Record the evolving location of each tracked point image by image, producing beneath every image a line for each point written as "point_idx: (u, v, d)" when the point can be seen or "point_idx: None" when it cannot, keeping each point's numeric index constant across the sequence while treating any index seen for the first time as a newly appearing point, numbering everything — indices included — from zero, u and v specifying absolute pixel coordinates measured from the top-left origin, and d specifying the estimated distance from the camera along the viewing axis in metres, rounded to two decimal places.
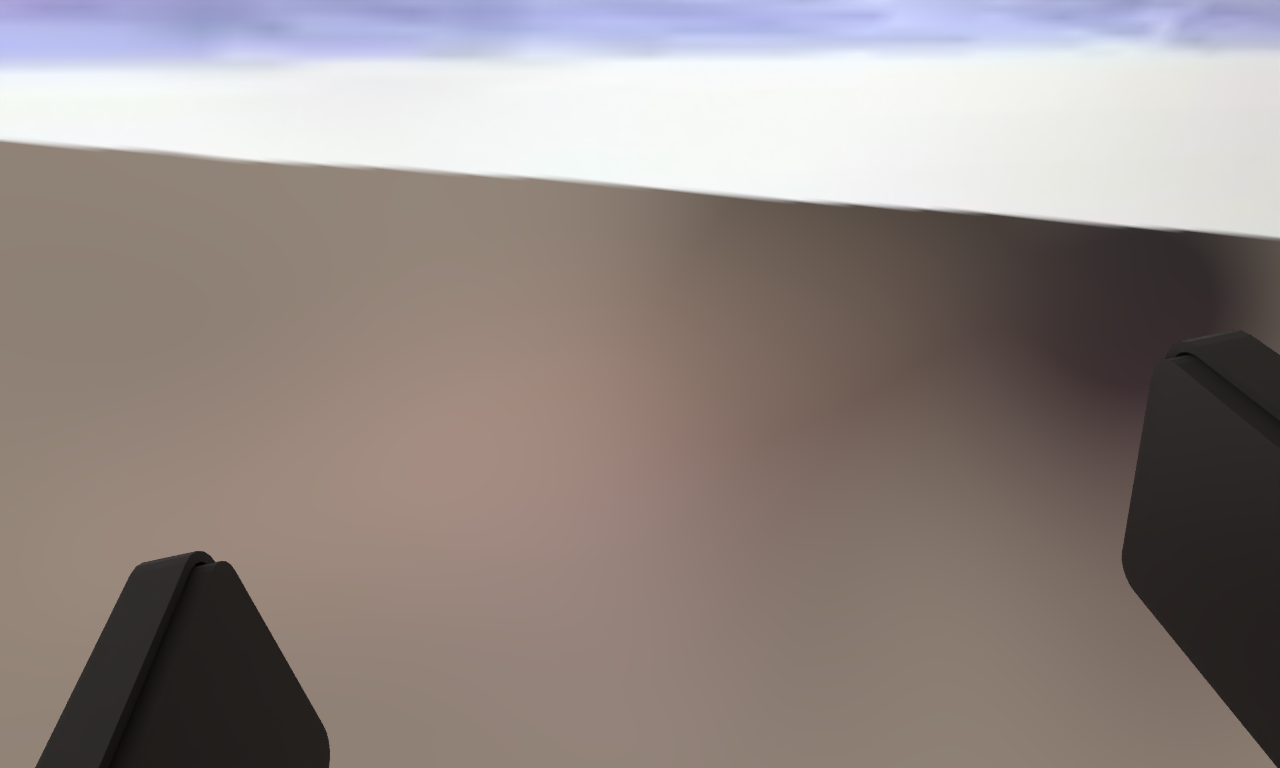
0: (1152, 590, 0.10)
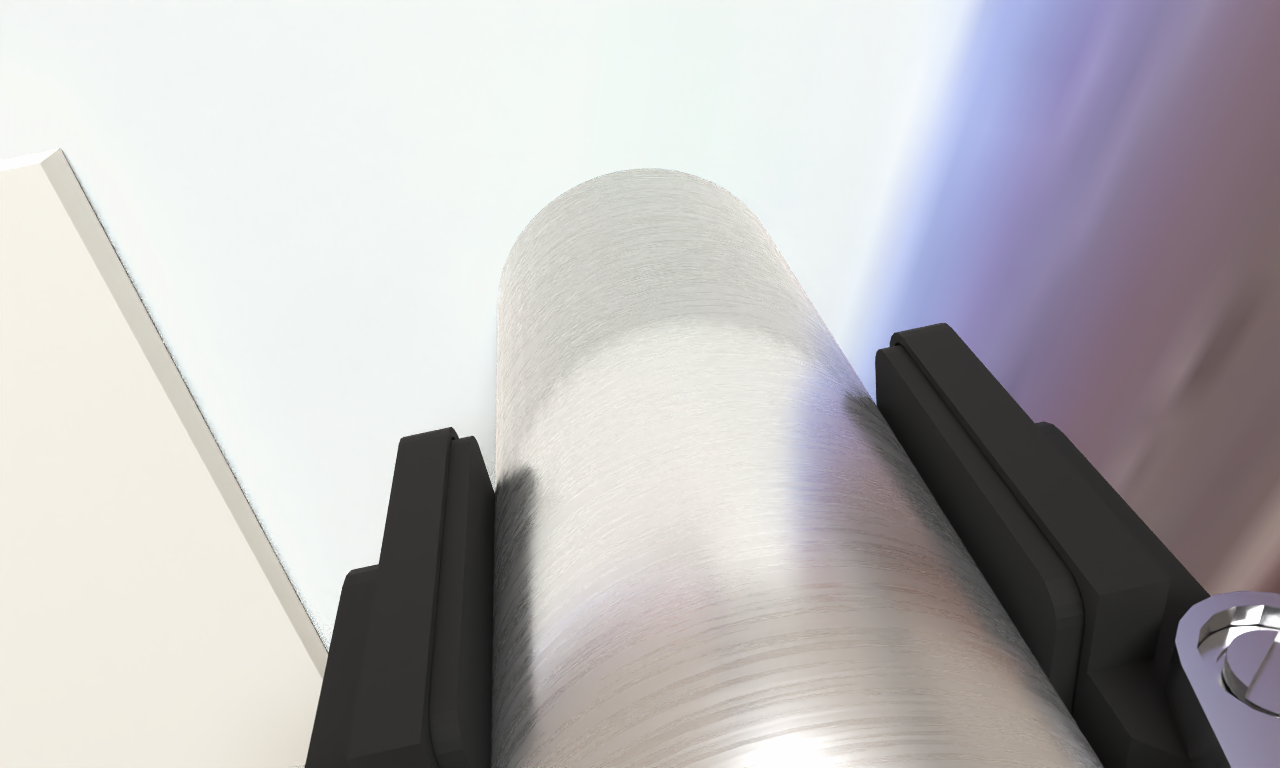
0: None
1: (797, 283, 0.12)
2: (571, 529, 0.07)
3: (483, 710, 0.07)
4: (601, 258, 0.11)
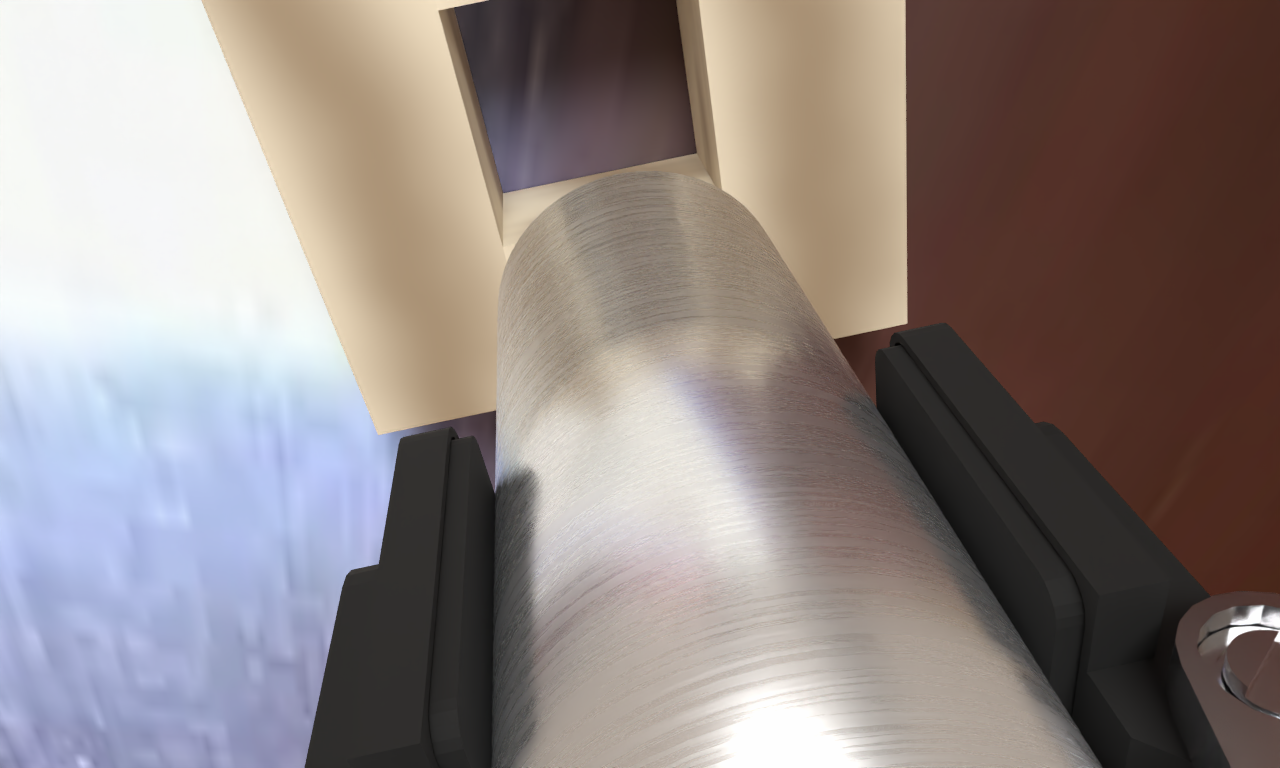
0: None
1: (798, 286, 0.11)
2: (571, 535, 0.07)
3: (484, 710, 0.07)
4: (601, 263, 0.11)
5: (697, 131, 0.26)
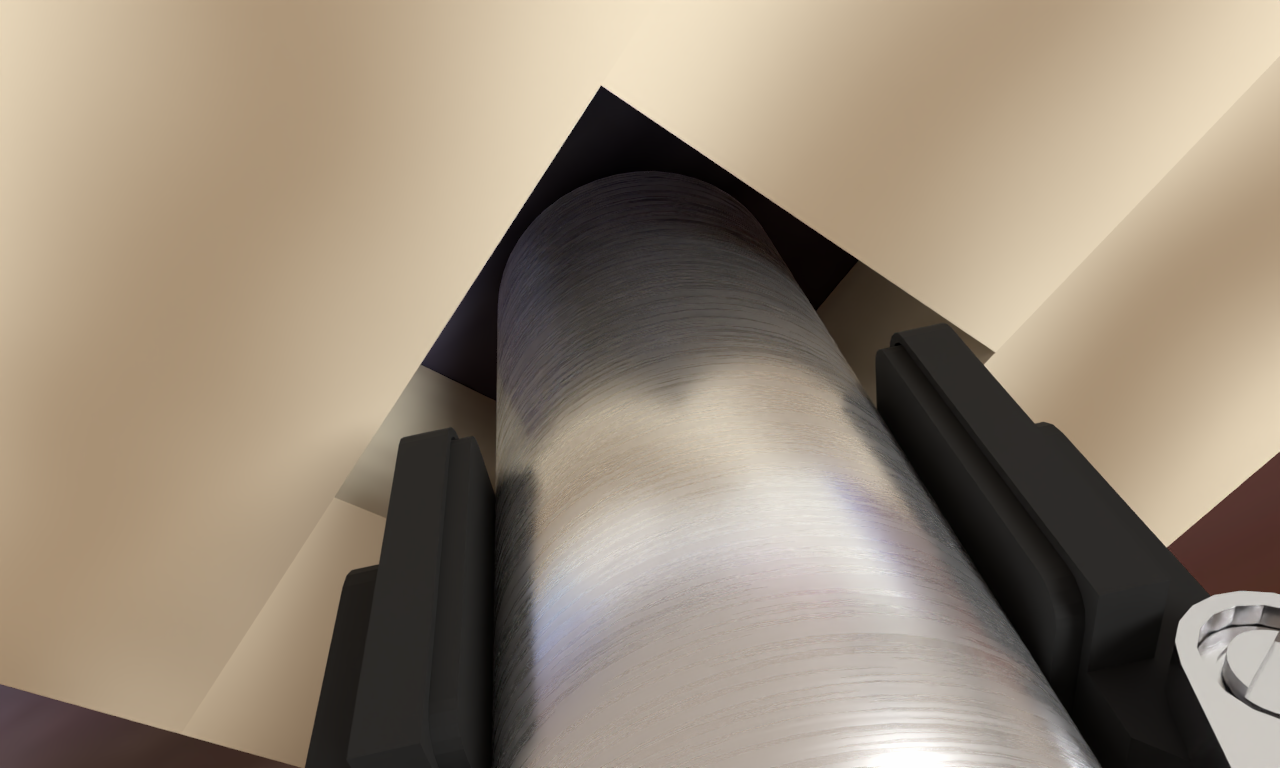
0: None
1: (797, 286, 0.12)
2: (572, 535, 0.07)
3: (483, 710, 0.07)
4: (601, 262, 0.11)
5: None
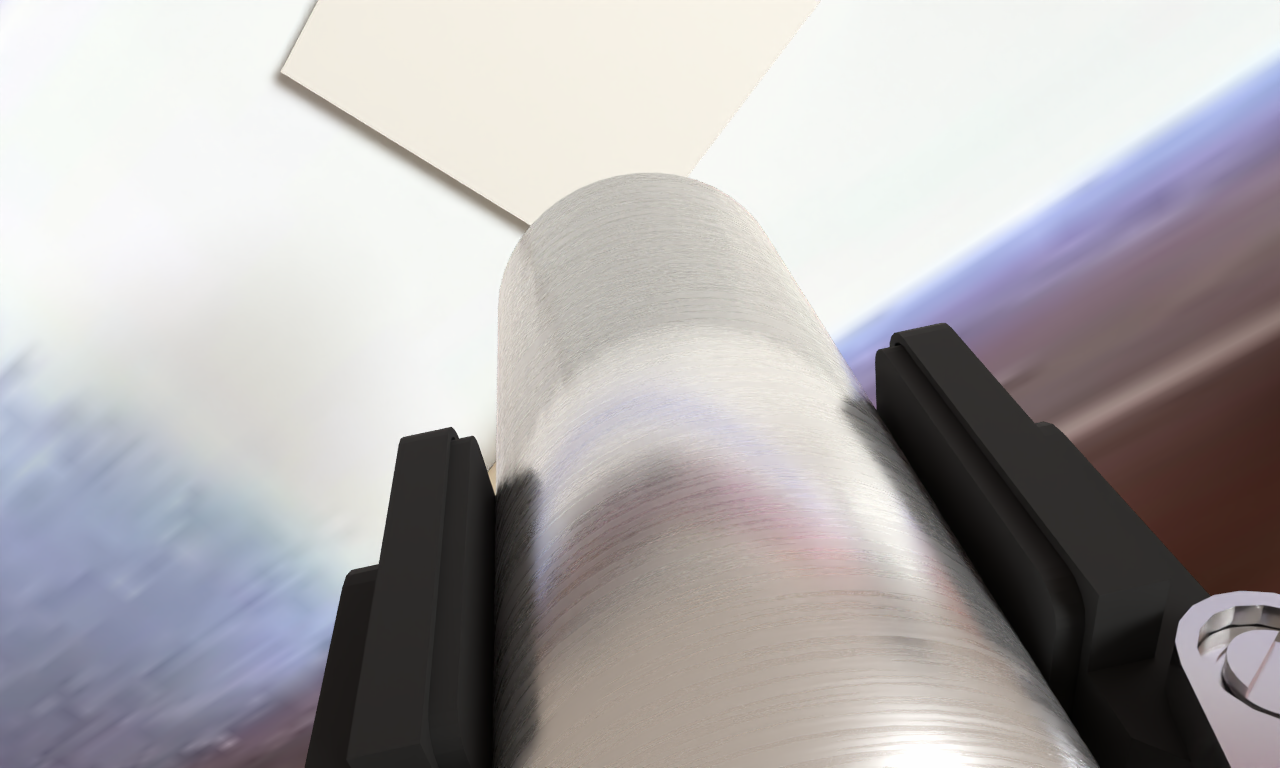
0: None
1: (797, 287, 0.12)
2: (572, 536, 0.07)
3: (483, 710, 0.07)
4: (601, 264, 0.11)
5: None
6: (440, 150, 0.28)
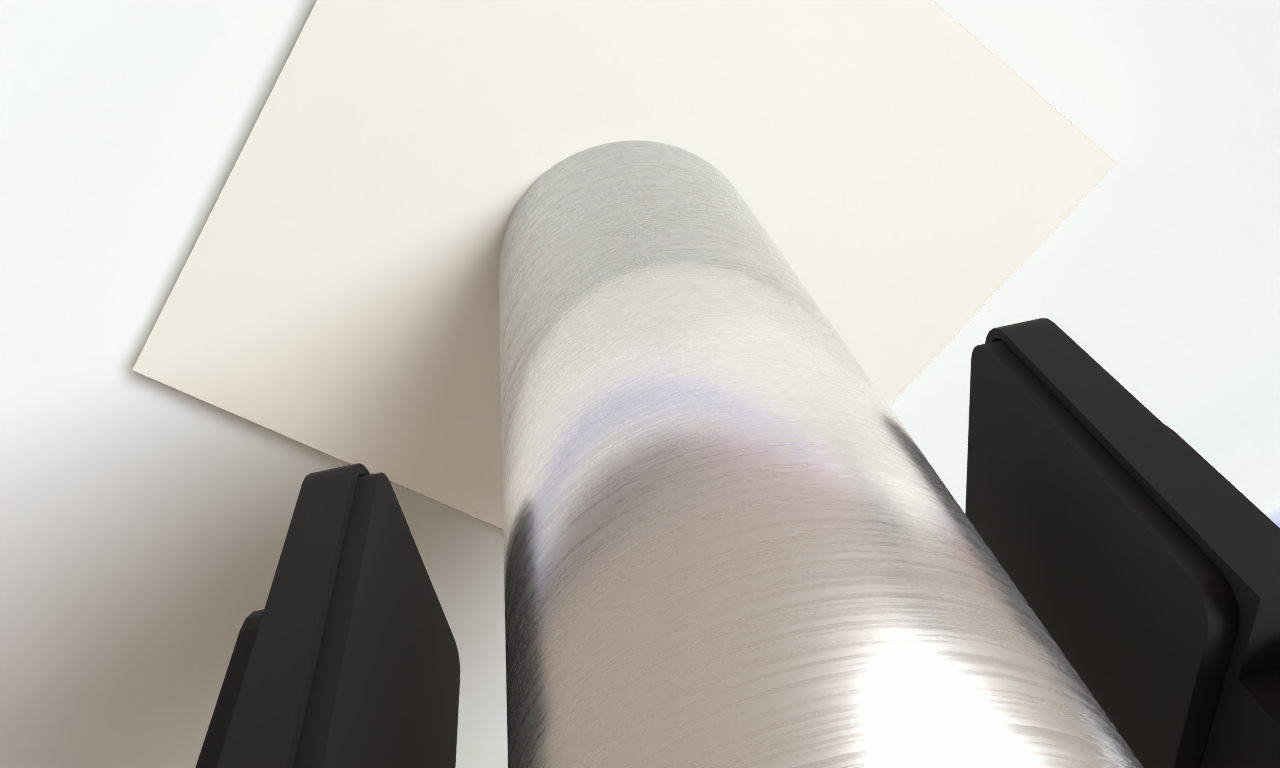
0: None
1: (770, 238, 0.13)
2: (574, 413, 0.08)
3: None
4: (594, 212, 0.12)
5: None
6: (417, 466, 0.17)
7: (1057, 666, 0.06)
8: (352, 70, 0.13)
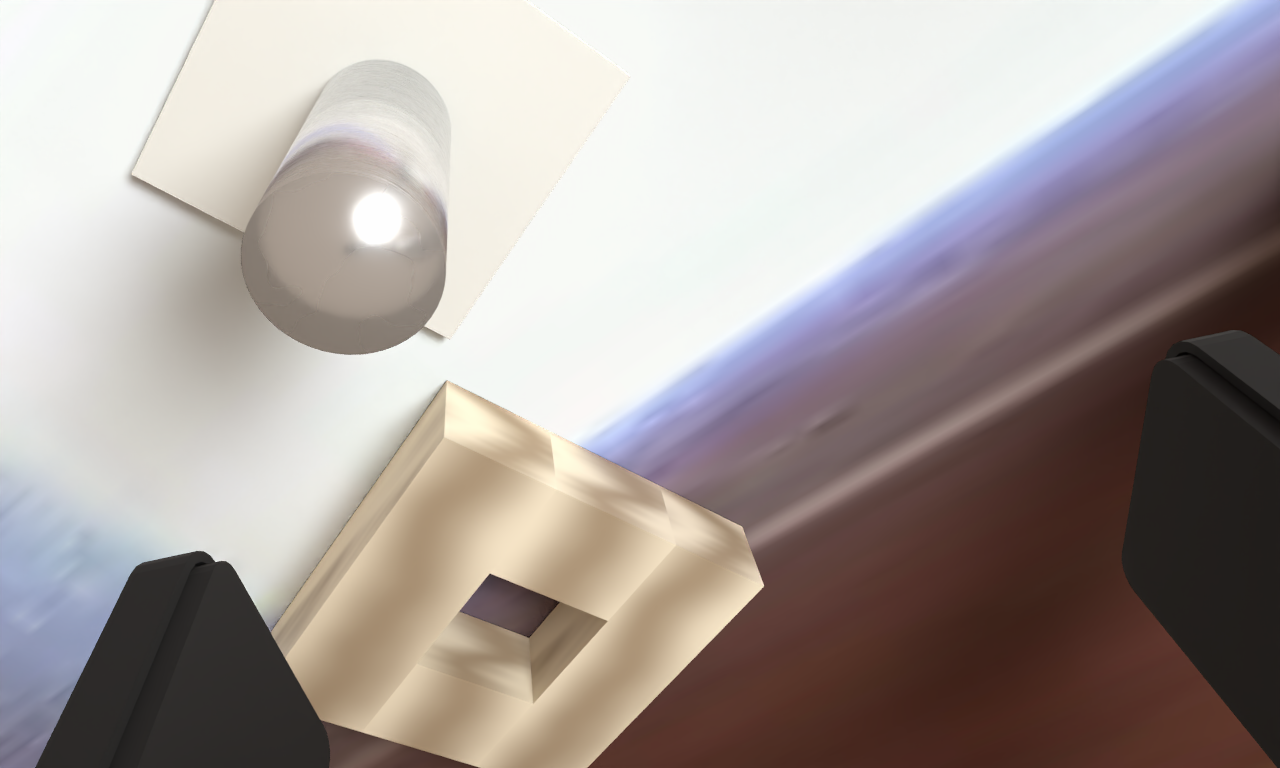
0: (1152, 590, 0.09)
1: (430, 101, 0.28)
2: (301, 134, 0.24)
3: None
4: (342, 82, 0.27)
5: (540, 638, 0.44)
6: None
7: (405, 170, 0.21)
8: (237, 22, 0.28)
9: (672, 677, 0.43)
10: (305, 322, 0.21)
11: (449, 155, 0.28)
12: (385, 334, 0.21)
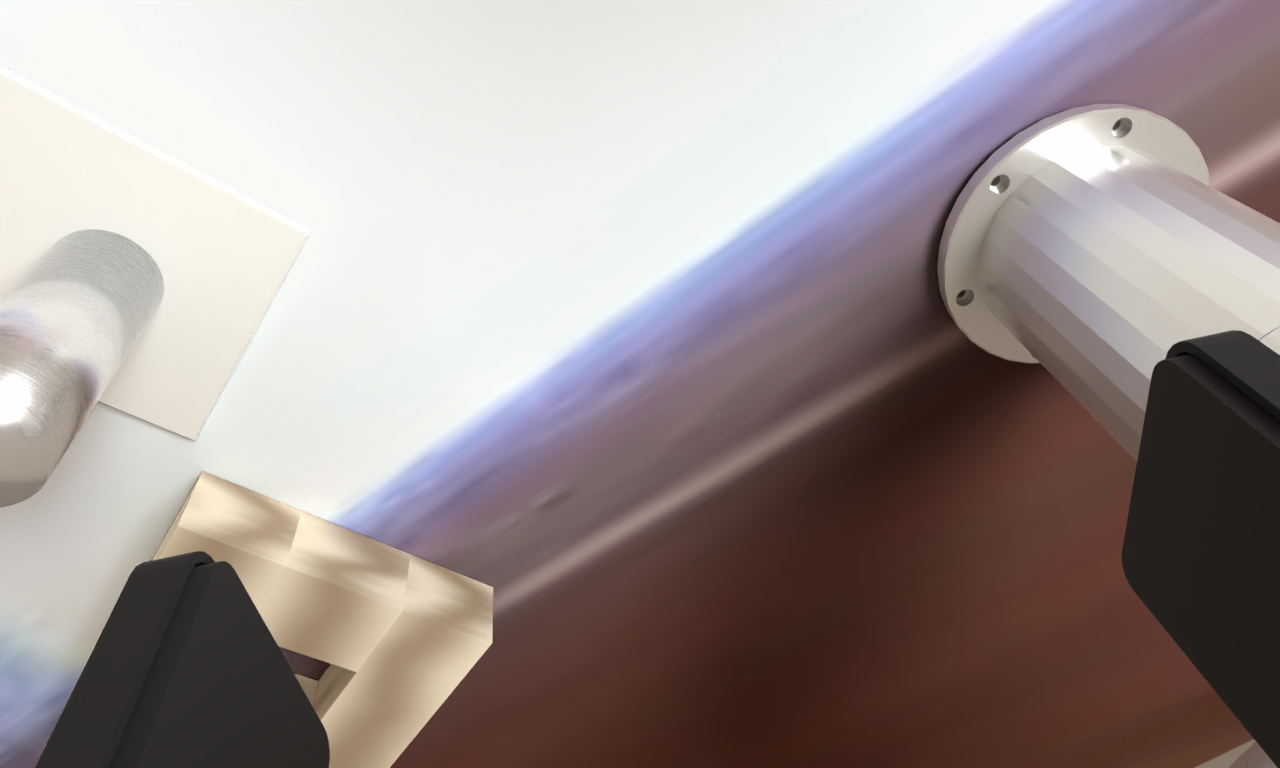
0: (1152, 590, 0.09)
1: (122, 270, 0.35)
2: None
3: None
4: (43, 261, 0.34)
5: (323, 682, 0.51)
6: None
7: (22, 371, 0.28)
8: None
9: (427, 719, 0.49)
10: None
11: (134, 316, 0.35)
12: (13, 493, 0.28)
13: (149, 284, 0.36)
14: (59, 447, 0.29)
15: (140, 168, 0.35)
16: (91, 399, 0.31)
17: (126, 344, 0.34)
